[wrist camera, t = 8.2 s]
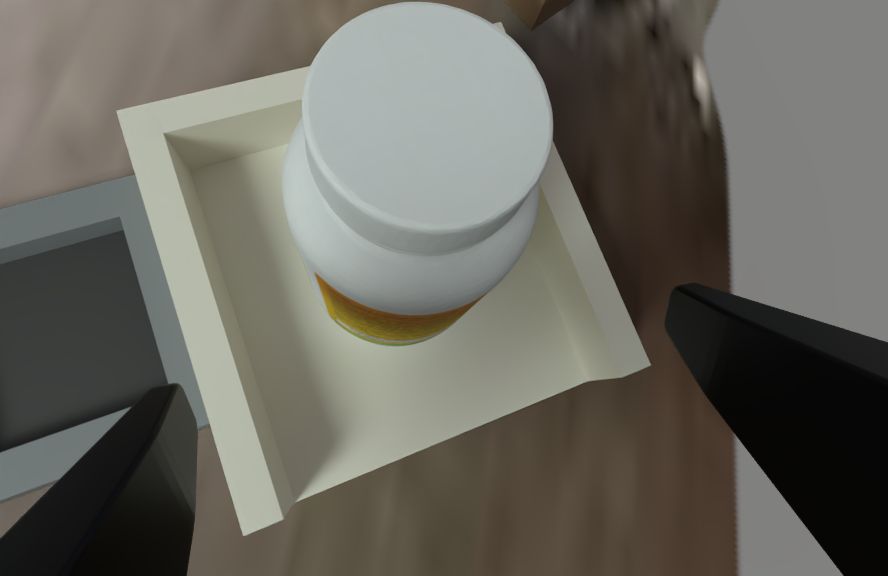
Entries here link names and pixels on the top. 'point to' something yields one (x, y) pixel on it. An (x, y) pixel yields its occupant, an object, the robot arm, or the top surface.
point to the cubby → (321, 339)
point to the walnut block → (536, 10)
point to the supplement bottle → (415, 168)
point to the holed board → (80, 328)
